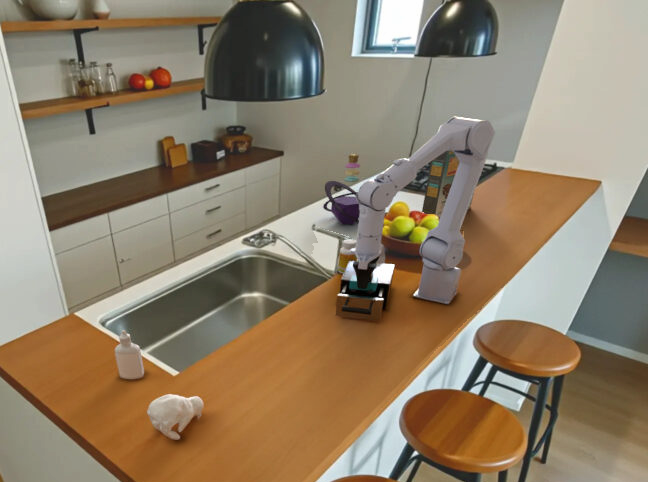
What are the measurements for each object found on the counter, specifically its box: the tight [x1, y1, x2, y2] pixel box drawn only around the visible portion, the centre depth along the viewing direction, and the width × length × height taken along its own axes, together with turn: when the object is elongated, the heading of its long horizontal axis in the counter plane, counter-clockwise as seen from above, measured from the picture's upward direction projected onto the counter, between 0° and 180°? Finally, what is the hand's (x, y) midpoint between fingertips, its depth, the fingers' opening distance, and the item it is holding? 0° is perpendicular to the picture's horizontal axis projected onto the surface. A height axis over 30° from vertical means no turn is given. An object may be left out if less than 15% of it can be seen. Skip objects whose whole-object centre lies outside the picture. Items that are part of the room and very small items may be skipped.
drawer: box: [335, 282, 385, 322], centre depth 124 cm, size 17×11×6 cm, turn 157°
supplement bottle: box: [337, 238, 358, 275], centre depth 147 cm, size 5×5×10 cm
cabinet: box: [339, 261, 396, 311], centre depth 133 cm, size 13×12×8 cm
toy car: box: [349, 272, 378, 294], centre depth 123 cm, size 6×4×5 cm, turn 67°
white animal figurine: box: [146, 393, 205, 441], centre depth 92 cm, size 6×8×12 cm
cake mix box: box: [421, 132, 475, 217], centre depth 182 cm, size 22×6×30 cm, turn 121°
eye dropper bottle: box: [114, 329, 145, 380], centre depth 107 cm, size 4×6×12 cm
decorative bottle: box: [322, 153, 361, 226], centre depth 181 cm, size 22×21×25 cm
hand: (363, 284), depth 123 cm, fingers closed on toy car, 3 cm apart
